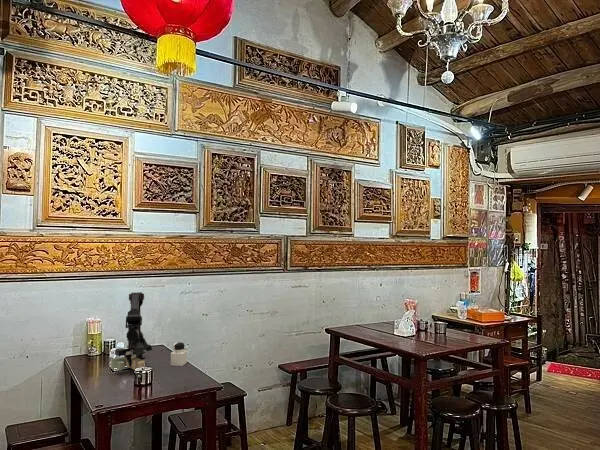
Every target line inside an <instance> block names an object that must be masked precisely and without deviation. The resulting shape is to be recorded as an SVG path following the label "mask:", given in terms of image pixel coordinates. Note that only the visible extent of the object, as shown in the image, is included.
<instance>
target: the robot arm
mask: <svg viewBox="0 0 600 450" xmlns="http://www.w3.org/2000/svg"><path fill="white" fill-rule="evenodd" d="M144 300H145V293H143V292H142V291H141V292H139V291H138V292H131V293H128V302H130V303H129V304H130V310H129V311H128V312H127V316H126V317H125V329H127V333H126V340H127V343H128V344H127V346H126V348H127V349H126V348H116V349H115V351H114V355H116V356H118V357H124V356H125V357H126V359H127V361H128V363H129V366H130V367H131V355H136V358H139V359H141V360H143V359H145V358H146V357H145V356H143V355H144V354H145V353H146V352H150V351H153V346H152V345H151V344H149V343H148V342H147V340H146V339H145V337H144V333H143V331H141V330H142V328H141V326H143V317H142V314H141V307H142V305H143V303H144ZM131 353H132V354H131Z"/></svg>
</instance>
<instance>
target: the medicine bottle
mask: <svg viewBox="0 0 600 450" xmlns="http://www.w3.org/2000/svg"><path fill="white" fill-rule="evenodd" d="M172 347H173V349H172V352H170V366H172V367H173V366H175V367H183V366H184V365H186V364H187V363H188V351H187V349H186V350H185V343H184V342H175V343H173V346H172Z"/></svg>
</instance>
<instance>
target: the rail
mask: <svg viewBox="0 0 600 450" xmlns="http://www.w3.org/2000/svg"><path fill="white" fill-rule="evenodd" d="M123 357H124V362H125V366H127V367H126V368H130V369H132V370H134V369H136V368H140V367H145V368H146V361H145V360H143V359H139V358H136V357H134V356H133V355H132V354H131V367H130V366H129V363H128V361H127V359H126V357H125V356H124V355H123ZM134 371H135V370H134Z"/></svg>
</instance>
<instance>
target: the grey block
mask: <svg viewBox="0 0 600 450" xmlns="http://www.w3.org/2000/svg"><path fill="white" fill-rule="evenodd" d="M133 356H134V357H136V355H133ZM114 368H117V369H119V370H120V371H123V370H122V369H125V368H126V367H125V362H124V356H118V357H116V358H111V359H110V370H111V369H112V371H114V370H113V369H114ZM117 369H116V370H117ZM119 370H118V371H119ZM125 370H126V369H125Z"/></svg>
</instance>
